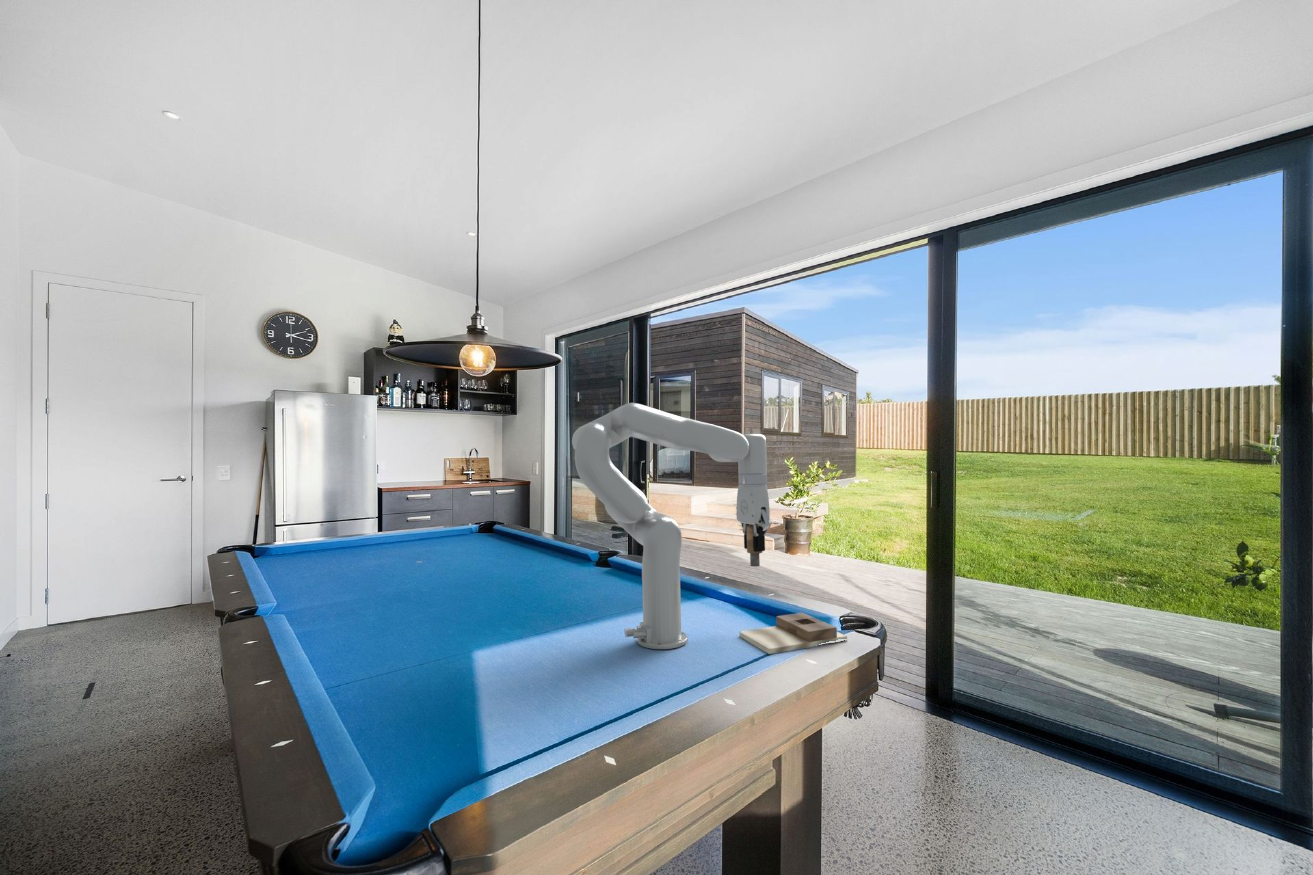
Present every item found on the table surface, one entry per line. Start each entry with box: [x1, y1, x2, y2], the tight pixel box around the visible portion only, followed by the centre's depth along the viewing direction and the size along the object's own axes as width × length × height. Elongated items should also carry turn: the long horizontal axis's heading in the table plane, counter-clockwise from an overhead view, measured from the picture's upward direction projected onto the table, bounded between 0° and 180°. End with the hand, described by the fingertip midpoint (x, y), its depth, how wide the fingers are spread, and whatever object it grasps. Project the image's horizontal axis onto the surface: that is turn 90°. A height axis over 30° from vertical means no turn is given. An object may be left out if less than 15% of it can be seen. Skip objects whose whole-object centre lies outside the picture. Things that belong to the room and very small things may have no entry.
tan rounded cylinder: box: [746, 525, 763, 567], centre depth 146 cm, size 4×4×10 cm
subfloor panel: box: [738, 612, 848, 655], centre depth 138 cm, size 22×14×4 cm, turn 111°
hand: (754, 549), depth 146 cm, fingers closed on tan rounded cylinder, 4 cm apart
